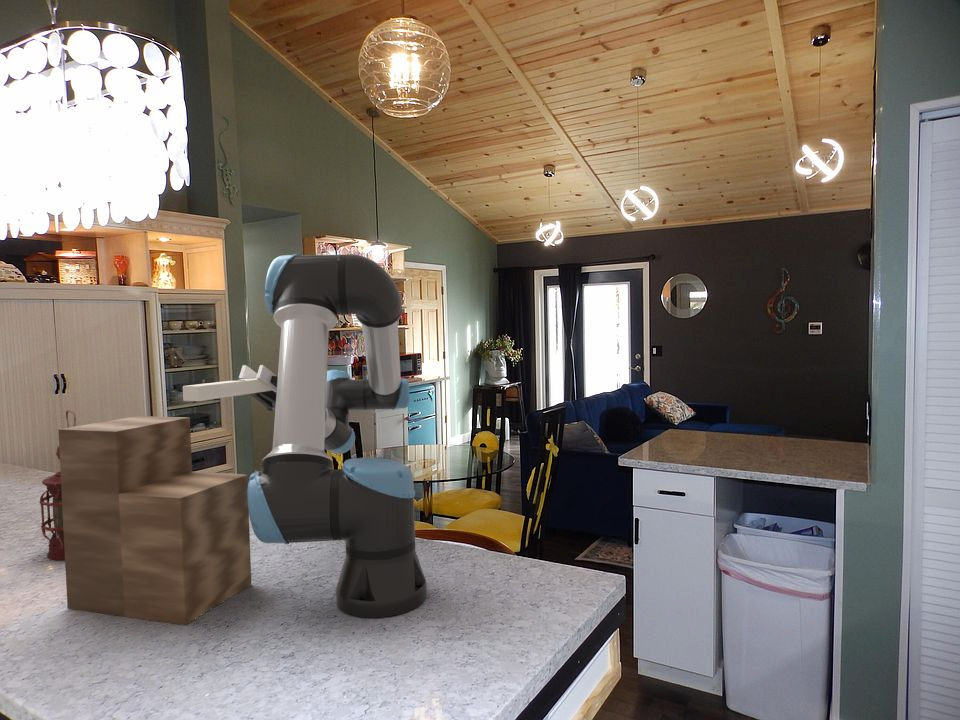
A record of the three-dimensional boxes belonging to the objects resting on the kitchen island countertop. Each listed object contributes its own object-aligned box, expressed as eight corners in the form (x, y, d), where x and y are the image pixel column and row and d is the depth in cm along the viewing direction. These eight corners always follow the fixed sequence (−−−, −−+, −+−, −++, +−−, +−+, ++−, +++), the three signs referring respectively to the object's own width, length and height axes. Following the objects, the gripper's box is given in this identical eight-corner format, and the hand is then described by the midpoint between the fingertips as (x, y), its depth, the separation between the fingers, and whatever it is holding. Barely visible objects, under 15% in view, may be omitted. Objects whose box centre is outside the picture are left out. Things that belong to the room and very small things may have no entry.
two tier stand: (144, 571, 119) (137, 416, 118) (251, 584, 112) (245, 418, 111) (67, 608, 104) (58, 429, 102) (185, 625, 97) (177, 433, 95)
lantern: (118, 550, 131) (111, 409, 130) (48, 567, 123) (40, 415, 121) (102, 537, 140) (96, 404, 138) (37, 552, 131) (29, 410, 130)
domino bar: (271, 388, 127) (270, 375, 127) (284, 388, 126) (284, 375, 126) (183, 400, 104) (182, 385, 104) (198, 401, 104) (198, 385, 103)
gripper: (340, 434, 135) (282, 389, 115) (275, 432, 140) (209, 388, 120) (348, 403, 138) (293, 353, 118) (284, 401, 143) (221, 354, 123)
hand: (251, 371), depth 119 cm, fingers closed on domino bar, 3 cm apart
